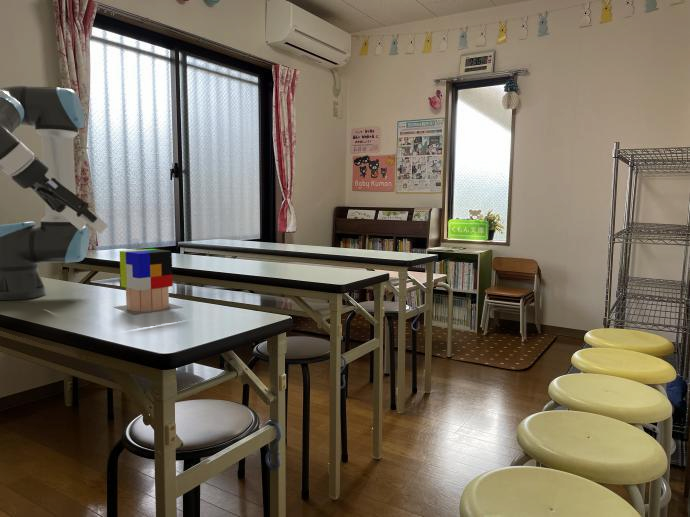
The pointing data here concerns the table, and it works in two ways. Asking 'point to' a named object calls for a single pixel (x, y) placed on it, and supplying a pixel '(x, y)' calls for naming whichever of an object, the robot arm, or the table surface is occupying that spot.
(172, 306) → the rubber mat
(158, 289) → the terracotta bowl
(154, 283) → the puzzle toy
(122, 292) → the table surface
